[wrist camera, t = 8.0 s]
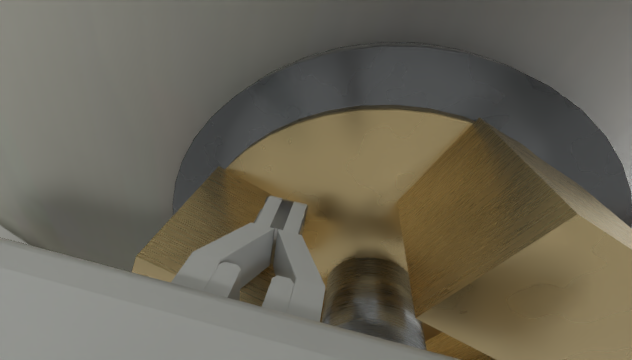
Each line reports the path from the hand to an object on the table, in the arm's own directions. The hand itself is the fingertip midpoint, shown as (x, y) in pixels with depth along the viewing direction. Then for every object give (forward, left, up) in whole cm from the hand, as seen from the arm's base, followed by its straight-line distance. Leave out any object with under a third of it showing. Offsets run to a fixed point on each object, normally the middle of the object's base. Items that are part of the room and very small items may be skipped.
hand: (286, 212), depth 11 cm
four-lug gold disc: (-5, +6, -3) cm, 8 cm away
